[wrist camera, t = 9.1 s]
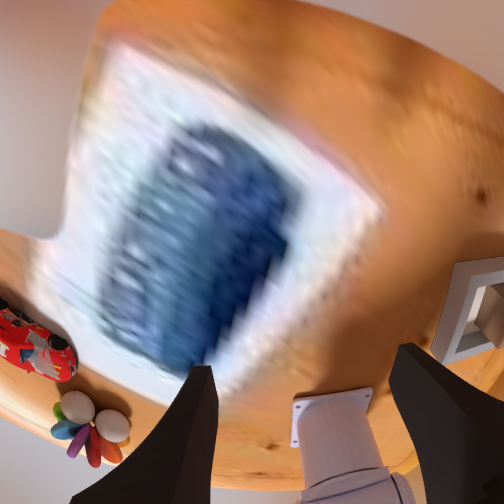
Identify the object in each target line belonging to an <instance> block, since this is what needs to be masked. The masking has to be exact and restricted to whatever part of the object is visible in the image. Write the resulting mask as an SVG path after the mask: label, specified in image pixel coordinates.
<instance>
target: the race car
mask: <svg viewBox="0 0 504 504" xmlns="http://www.w3.org/2000/svg"><path fill="white" fill-rule="evenodd" d="M0 356H2V357H3V358H4V359H6V360H7V361H8V362H10V363H11V364H13V365H15V366H17V367H19V368H22V369H24V370H27V373H28V374H29V373H30V372H31V371H33V372H36V373H38V374H40V375H43V376H45V377H47V378H49V379H51V380H54V381H58V382H64V381H67V380H69V379H71V378H72V377H74V375H75V373H76V372H77V369H78V364H77V359H76V356H75V354H74V352H73V351H72V349H71V348H70V346H68V347H67V341H66V340H65V339H62V338H61V337H59V336H58V335H56V334H55V335H52V336H51V332H49V331H47V330H46V329H44V328H43V327H41V326H39V325H38V324H36V323H35V322H33V321H32V320H30V319H29V318H27V317H26V316H24V315H23V314H21V313H20V312H18V311H17V310H16V309H14V308H13V307H11V306H10V305H9V306H8V303H7V302H6V301H4V300H3V299H2V298H1V297H0Z"/></svg>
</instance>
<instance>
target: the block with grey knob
mask: <svg viewBox="0 0 504 504" xmlns="http://www.w3.org/2000/svg"><path fill="white" fill-rule="evenodd" d="M474 323H475V325H476V326H477V327H478V328H479V329H480V330H481V331H482V332H483V333H484V334H485V335H486V337H487V338H488V339H489V340H490V341H491V342H492V343H493V344H494V346H495V347H496V348H497V349H500V348H503V347H504V282H502V283H497V284H493V285H488V286H486V288H485V292H484V295H483V298H482V302H481V305H480V308H479V311H478V314H477V317H476V320H475V322H474Z"/></svg>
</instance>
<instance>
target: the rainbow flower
mask: <svg viewBox="0 0 504 504" xmlns="http://www.w3.org/2000/svg"><path fill="white" fill-rule="evenodd" d="M53 413H54V415H55V417H56V418H57V419H58V423H57V424H55V425H54V426H53V427H52V428H51V434H52V436H53V437H55V438H56V439H61V440H66V439H71V440H72V442H71V444H70V446H69V448H68V450H67V455H68V456H69V457H71V458H75V457H76V455H77V454H78V453H79V451H80V450H81V448H82V447H83V445H85V449H86V455H87V459H88V462H89V464H90V465H91V466H92V467H94V468H98V467H99V466H100V464H101V455H102V456H103V457H104V458H105V459H107V460H108V461H110V462H112V463H115V464H117V463H120V462H121V461H122V459H123V456H122V453H121V450H120V448H119V447H125V446H127V445H128V444H129V442H130V436H129V433H130V426H129V422H128V420H127V419H126V417H125V416H124V415H123V414H121V413H120V412H118V411H116V410H111V409H108V410H104V411H101V412H100V413H99V414H98V415H97V416H96V419H95V426H94V427H92V426H91V424H90V423H89V422H91V421H92V419H93V418H94V416H95V408H94V404H93V402H92V401H91V399H90V398H89V397H88V396H87V395H86V394H84V393H82V392H80V391H70V392H68V393H66V394H65V395H64V396H63V397H62V399H61V402H57V403H56V404H55V405H54V407H53Z"/></svg>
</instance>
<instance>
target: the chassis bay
mask: <svg viewBox="0 0 504 504" xmlns="http://www.w3.org/2000/svg"><path fill="white" fill-rule="evenodd" d="M502 282H504V256H502V257H495V258H487V259H480V260H472V261H464V262H456V263H454V268H453V272H452V277H451V281H450V285H449V289H448V293H447V297H446V301H445V304H444V308H443V311H442V315H441V318H440V321H439V325H438V328H437V331H436V334H435V337H434V340H433V343H432V346H431V348H430V351H431V352H432V354H433V355H434V356H435V358H436V359H437V361H438V362H439V363H441V364H442V365H446V364H450V363H453V362H456V361H459V360H462V359H465V358H468V357H471V356H473V355H476V354H479V353H482V352H484V351H487V350H490V349H492V348H495V346H494V344H493V343H492V342H491V341H490V340H489V339H488V338H487V337H486V335H485V334H484V333H483V332H482V331H481V330H480V329H479V328H478V327H477V326H476V325H475V323H474V322H475V320H476V317H477V314H478V311H479V308H480V305H481V302H482V298H483V295H484V292H485V288H486V286H488V285H493V284H497V283H502Z"/></svg>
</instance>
